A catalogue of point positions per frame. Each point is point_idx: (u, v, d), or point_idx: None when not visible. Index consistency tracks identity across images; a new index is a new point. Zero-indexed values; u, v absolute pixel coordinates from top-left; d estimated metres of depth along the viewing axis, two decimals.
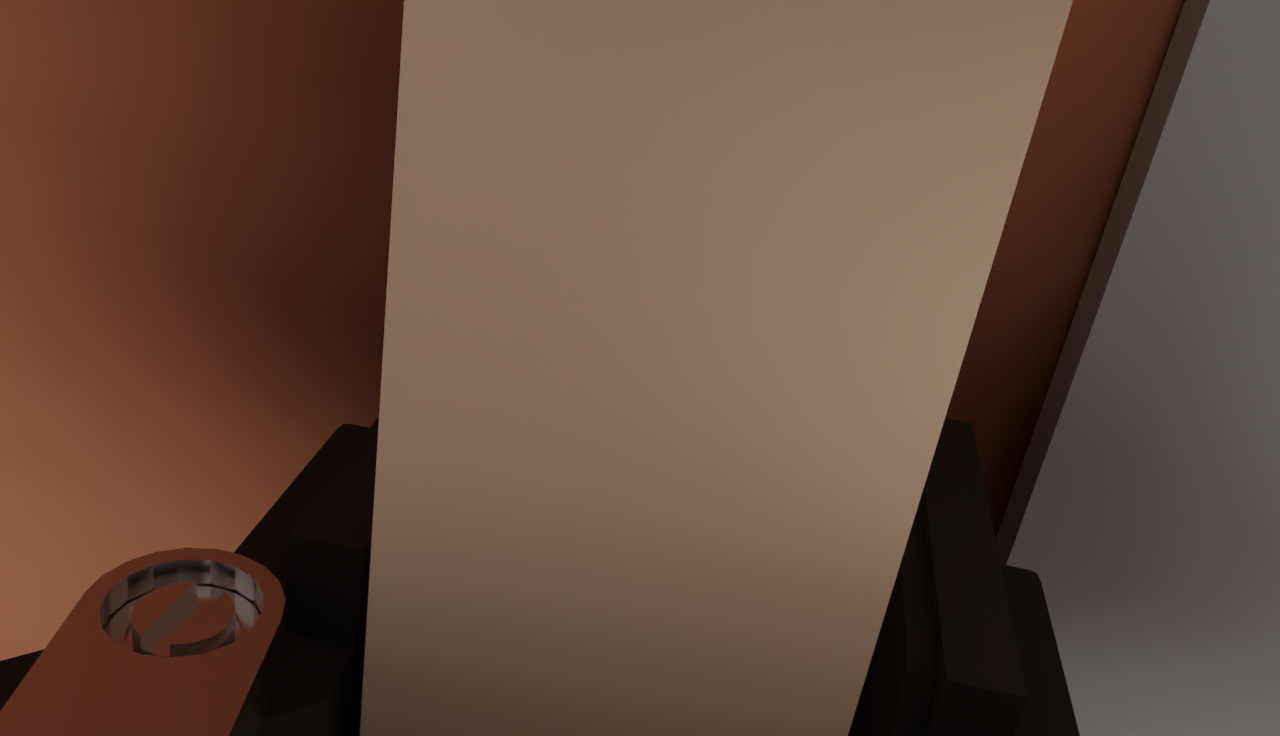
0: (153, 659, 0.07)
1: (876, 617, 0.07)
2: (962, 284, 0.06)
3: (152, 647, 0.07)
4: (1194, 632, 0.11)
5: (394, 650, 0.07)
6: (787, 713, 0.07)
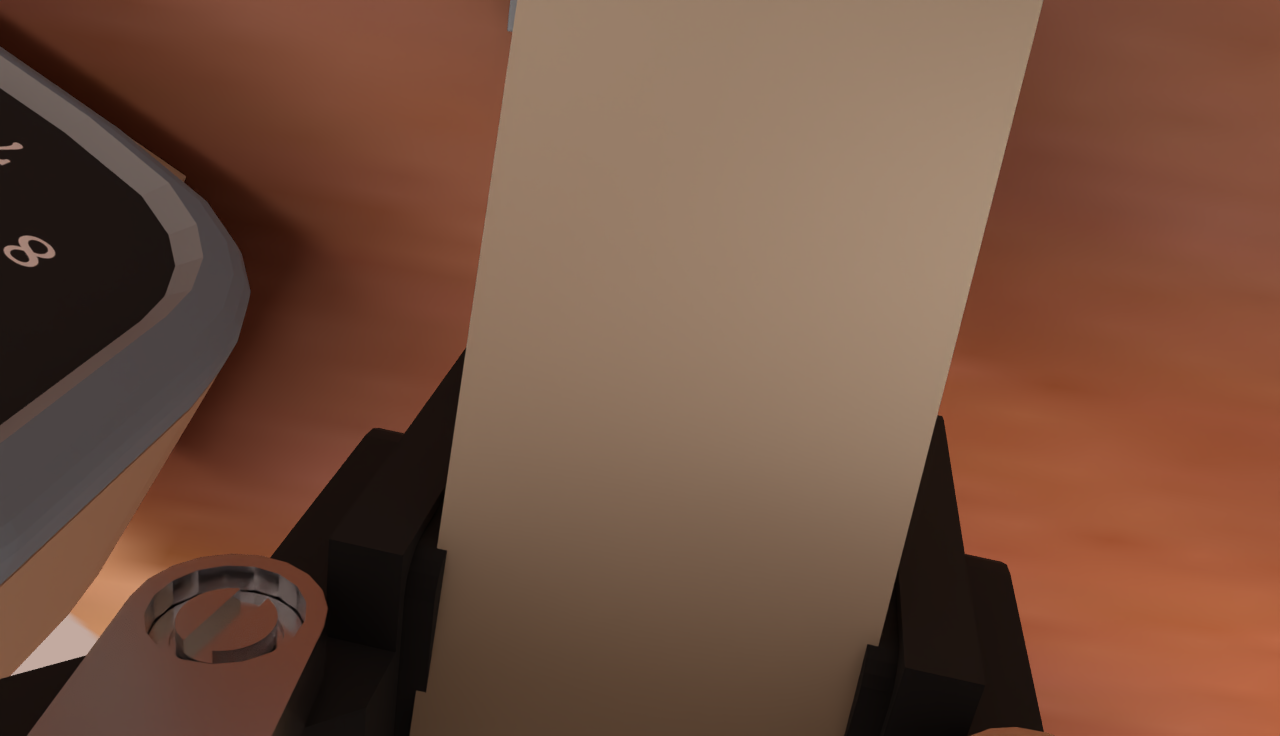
0: (194, 665, 0.07)
1: (911, 489, 0.07)
2: (981, 165, 0.07)
3: (193, 653, 0.07)
4: None
5: (465, 544, 0.08)
6: (830, 596, 0.08)
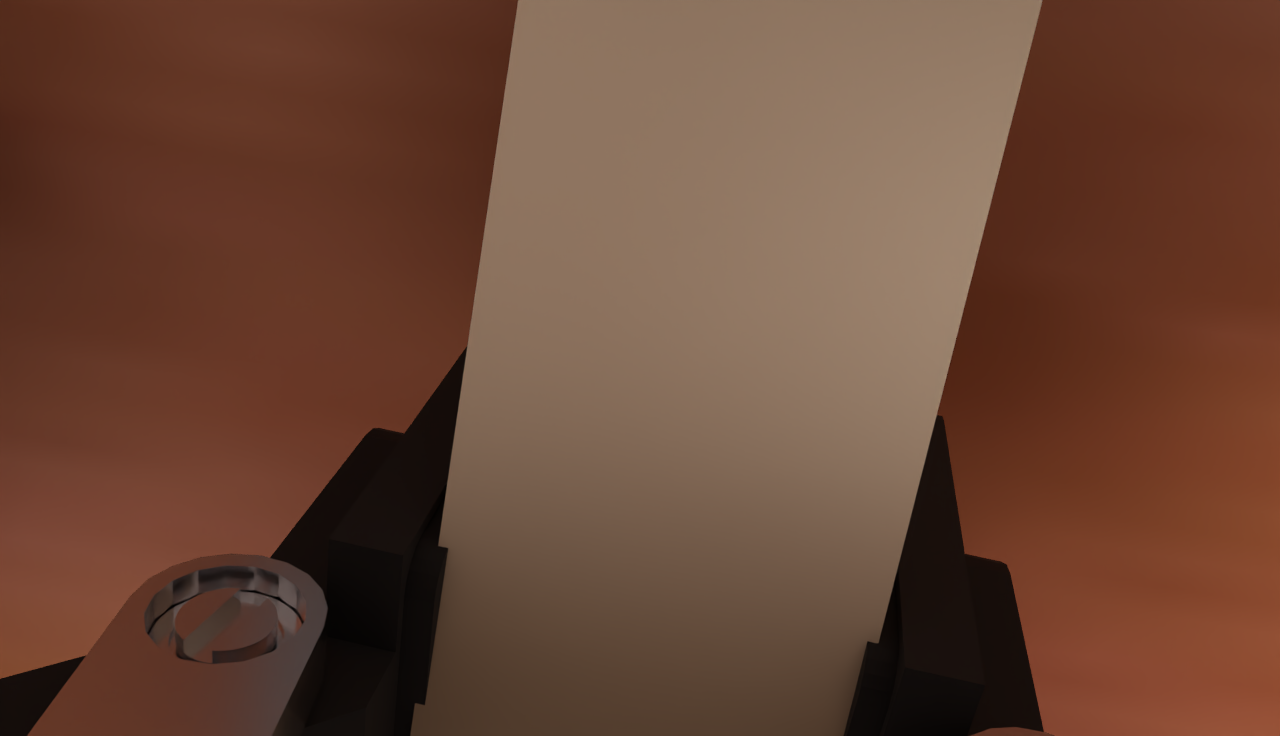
0: (194, 665, 0.07)
1: (911, 488, 0.08)
2: (980, 166, 0.07)
3: (194, 653, 0.07)
4: None
5: (466, 543, 0.08)
6: (829, 594, 0.08)
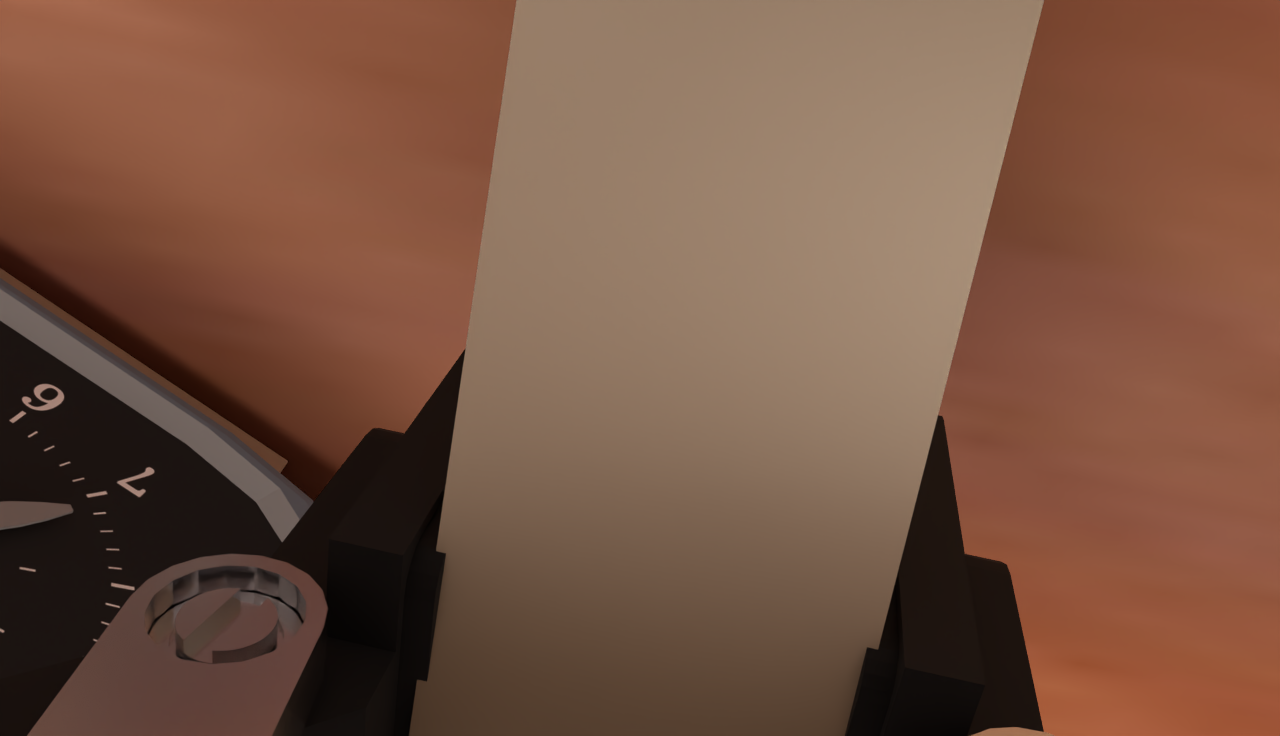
0: (194, 665, 0.07)
1: (910, 493, 0.07)
2: (980, 169, 0.07)
3: (194, 653, 0.07)
4: None
5: (464, 548, 0.08)
6: (829, 600, 0.08)
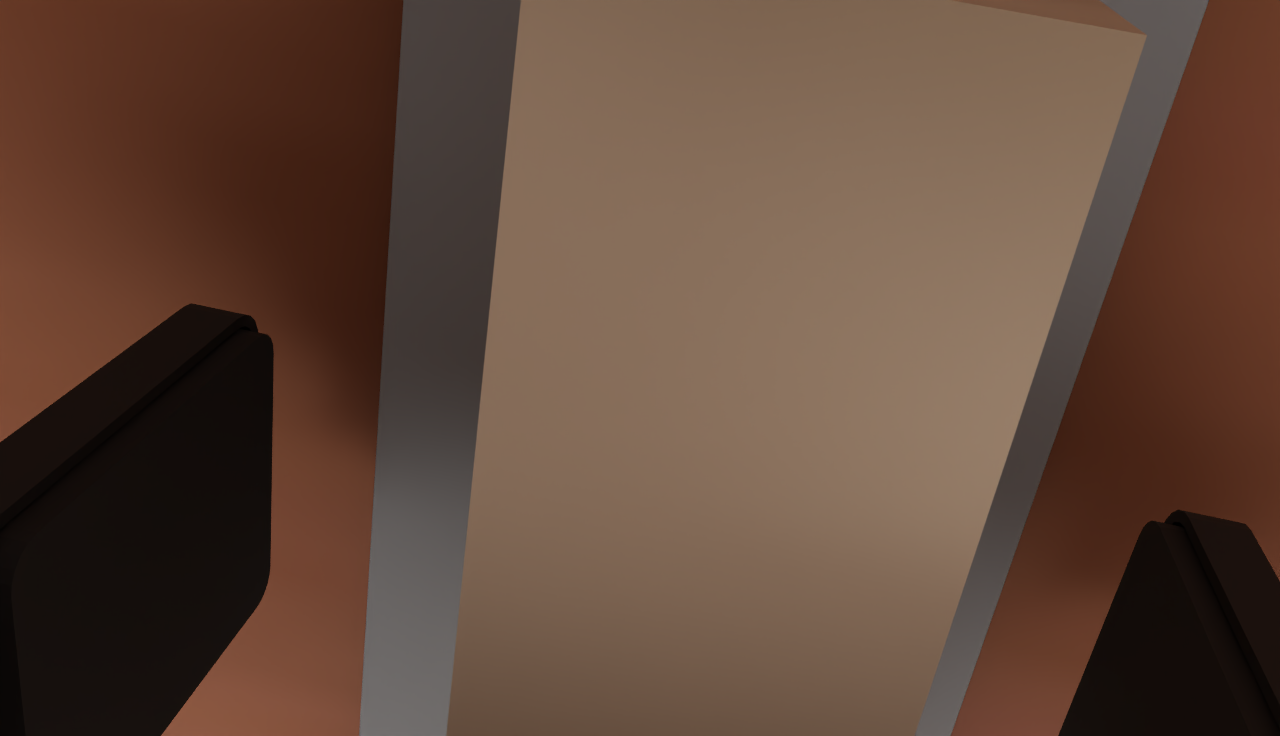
0: None
1: (922, 689, 0.07)
2: (1004, 397, 0.06)
3: None
4: None
5: (475, 715, 0.08)
6: None
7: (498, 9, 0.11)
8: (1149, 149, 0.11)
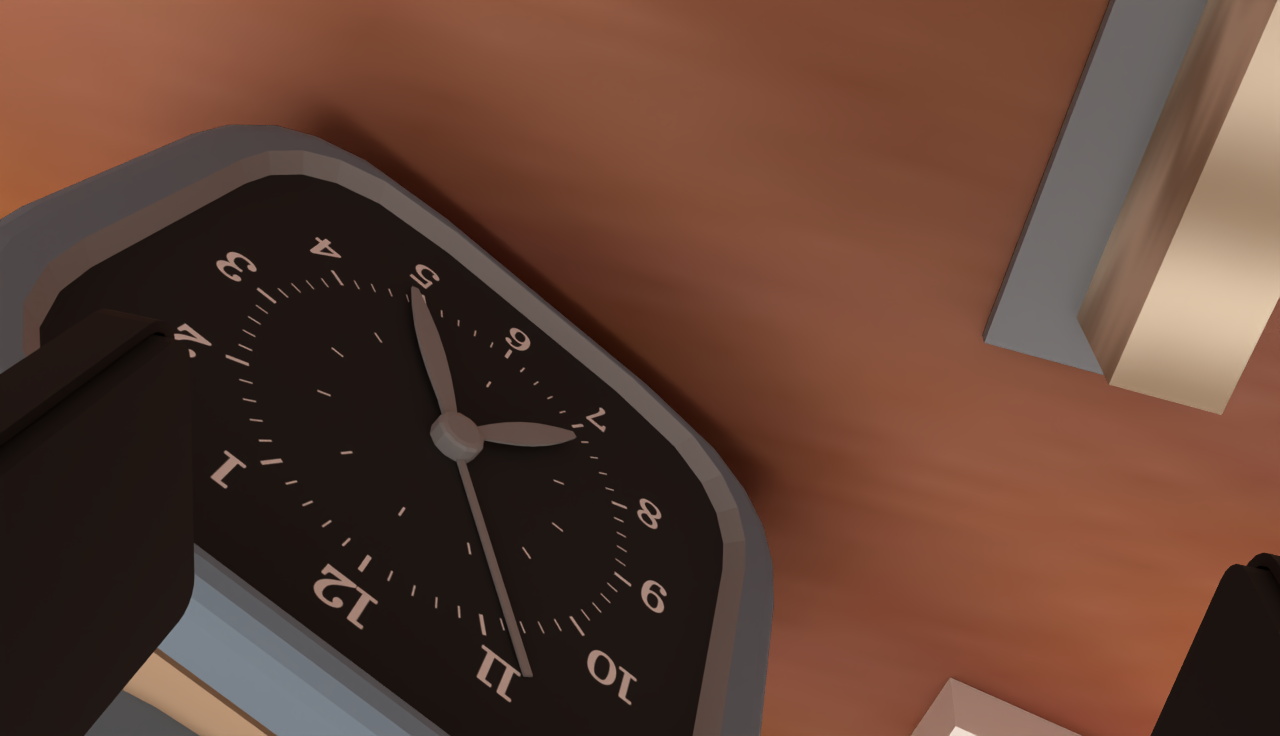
0: None
1: None
2: None
3: None
4: (1141, 121, 0.33)
5: (1228, 132, 0.28)
6: None
7: None
8: None
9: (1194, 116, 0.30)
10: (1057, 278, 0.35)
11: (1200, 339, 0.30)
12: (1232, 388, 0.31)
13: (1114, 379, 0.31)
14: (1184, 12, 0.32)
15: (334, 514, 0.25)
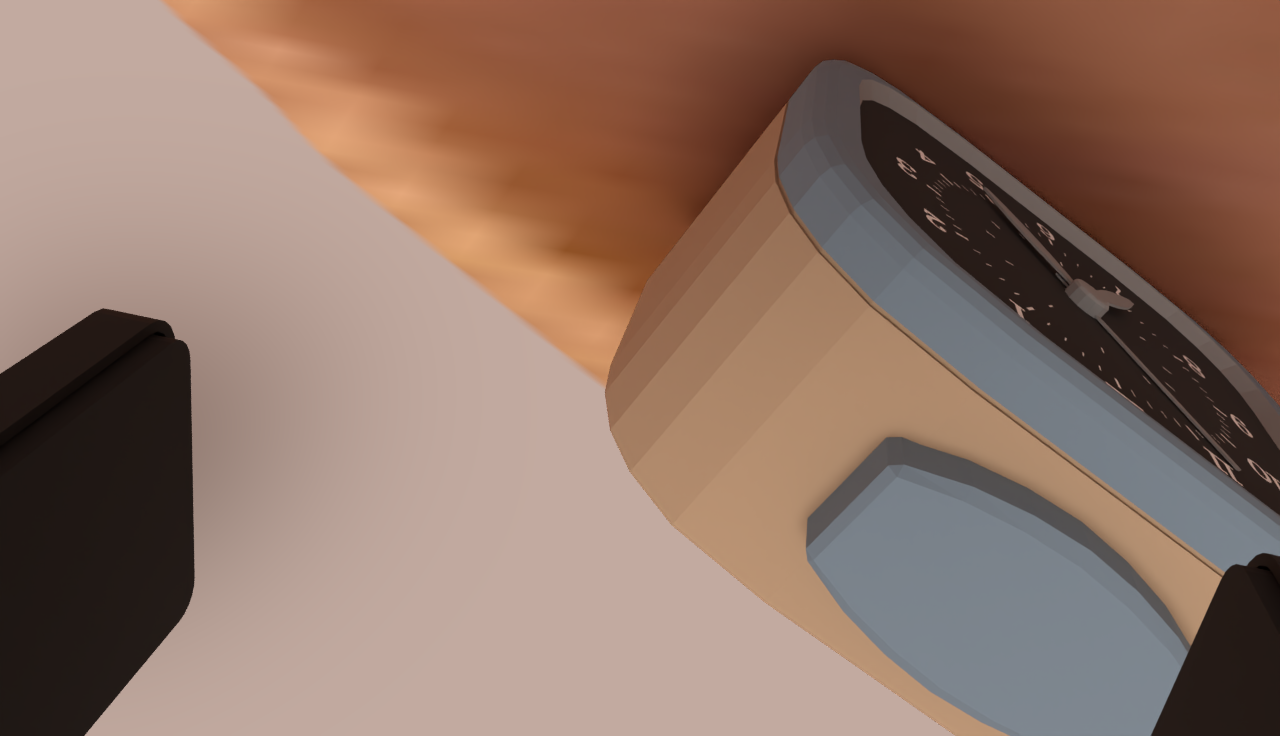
0: None
1: None
2: None
3: None
4: None
5: None
6: None
7: None
8: None
9: None
10: None
11: None
12: None
13: None
14: None
15: (1081, 348, 0.31)
